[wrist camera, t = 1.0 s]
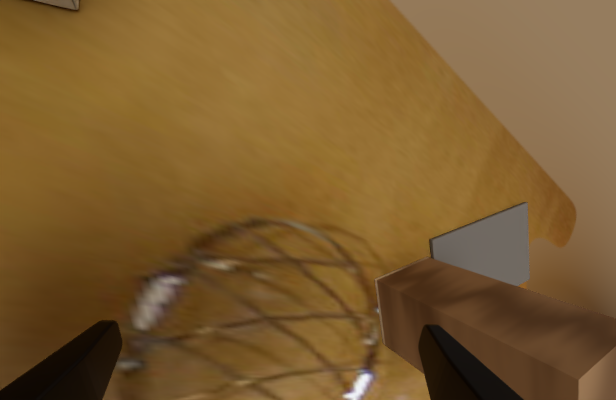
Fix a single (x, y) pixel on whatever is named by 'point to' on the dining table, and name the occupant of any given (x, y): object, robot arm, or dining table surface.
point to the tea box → (63, 3)
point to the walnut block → (502, 330)
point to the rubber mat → (489, 246)
